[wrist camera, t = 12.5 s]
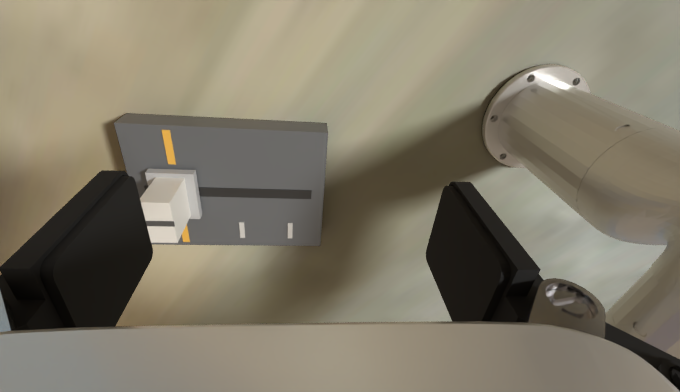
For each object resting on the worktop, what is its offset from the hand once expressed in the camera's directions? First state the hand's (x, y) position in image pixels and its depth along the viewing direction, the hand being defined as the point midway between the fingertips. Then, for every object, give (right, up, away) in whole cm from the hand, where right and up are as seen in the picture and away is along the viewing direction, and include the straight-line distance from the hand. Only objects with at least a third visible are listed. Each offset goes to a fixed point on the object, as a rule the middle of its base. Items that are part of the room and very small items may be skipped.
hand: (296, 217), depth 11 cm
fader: (-17, +1, +30) cm, 34 cm away
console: (-12, +3, +33) cm, 35 cm away
